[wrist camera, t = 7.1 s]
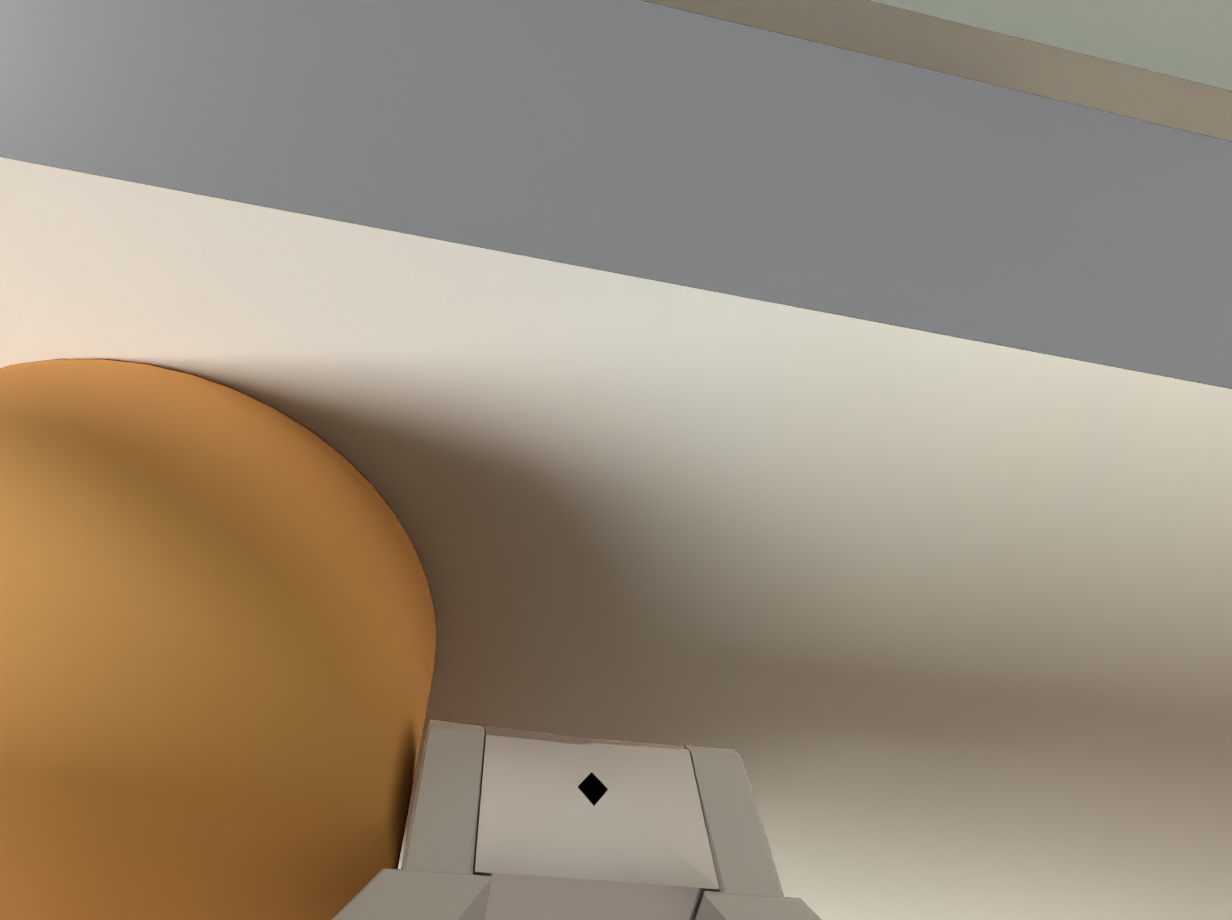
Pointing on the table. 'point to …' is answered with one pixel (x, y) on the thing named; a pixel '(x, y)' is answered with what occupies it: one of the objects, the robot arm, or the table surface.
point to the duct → (656, 158)
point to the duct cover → (1110, 30)
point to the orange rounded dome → (196, 654)
